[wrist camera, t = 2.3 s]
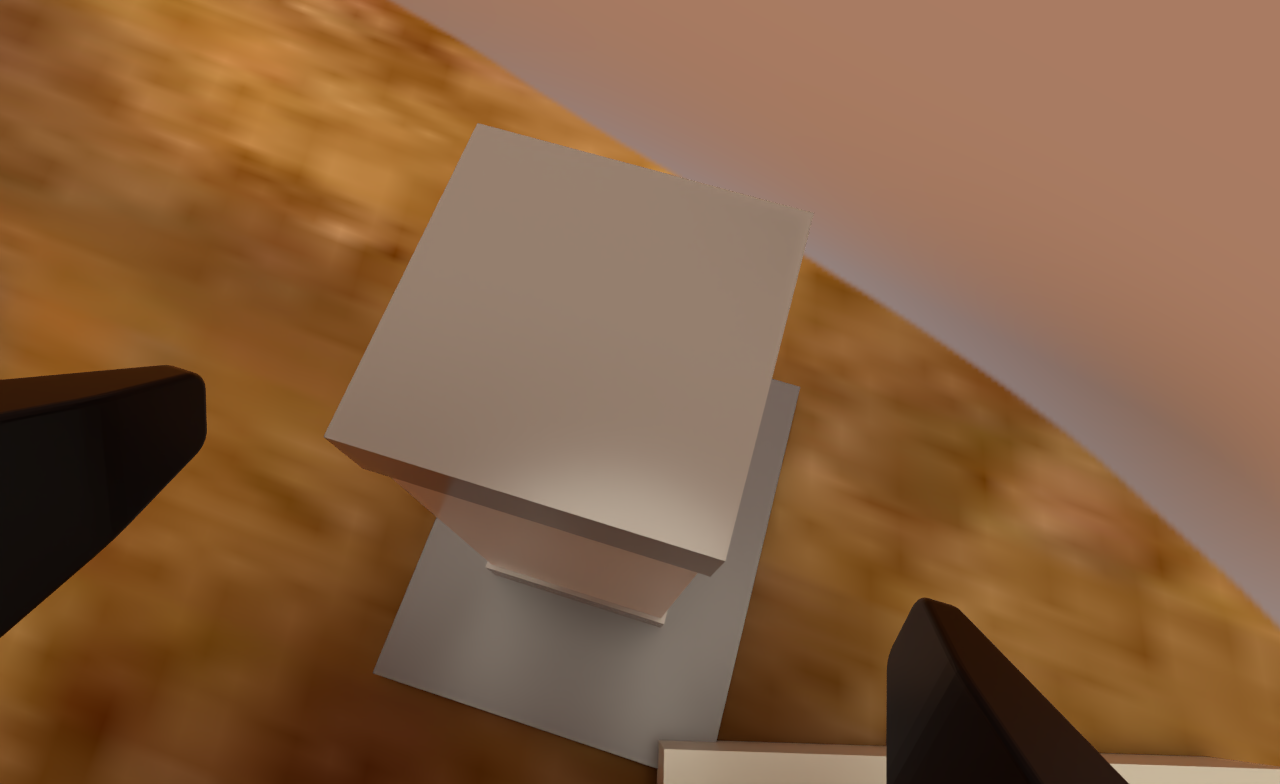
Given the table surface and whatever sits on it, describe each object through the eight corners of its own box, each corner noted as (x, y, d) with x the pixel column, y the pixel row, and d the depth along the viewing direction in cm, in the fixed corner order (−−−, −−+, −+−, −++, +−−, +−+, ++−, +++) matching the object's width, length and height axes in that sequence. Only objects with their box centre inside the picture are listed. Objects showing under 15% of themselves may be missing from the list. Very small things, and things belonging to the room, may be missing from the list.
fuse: (660, 627, 17) (725, 561, 7) (495, 575, 17) (322, 436, 7) (705, 465, 19) (814, 212, 8) (552, 419, 19) (477, 122, 9)
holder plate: (703, 781, 16) (705, 785, 16) (379, 673, 17) (372, 672, 17) (796, 393, 20) (800, 386, 20) (524, 315, 21) (522, 307, 20)
